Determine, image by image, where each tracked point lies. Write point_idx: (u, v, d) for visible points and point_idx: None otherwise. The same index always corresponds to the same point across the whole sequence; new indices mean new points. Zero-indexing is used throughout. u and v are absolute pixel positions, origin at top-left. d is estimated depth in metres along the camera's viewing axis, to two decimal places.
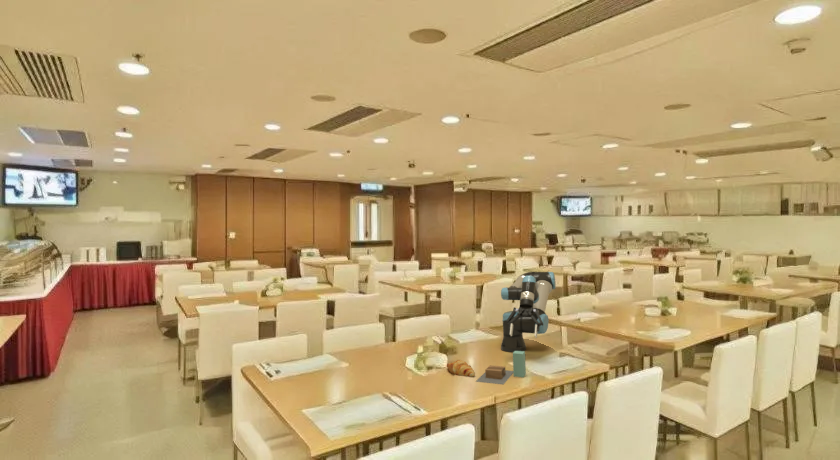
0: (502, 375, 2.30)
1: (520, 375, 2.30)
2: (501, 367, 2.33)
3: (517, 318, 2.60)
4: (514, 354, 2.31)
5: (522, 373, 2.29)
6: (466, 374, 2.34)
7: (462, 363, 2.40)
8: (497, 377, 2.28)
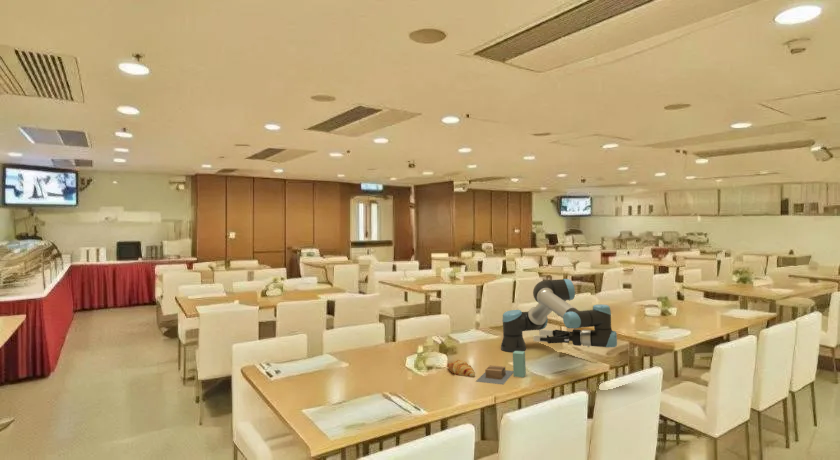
0: (502, 375, 2.30)
1: (520, 375, 2.30)
2: (501, 367, 2.33)
3: None
4: (514, 354, 2.31)
5: (522, 373, 2.29)
6: (466, 374, 2.34)
7: (462, 363, 2.40)
8: (497, 377, 2.28)
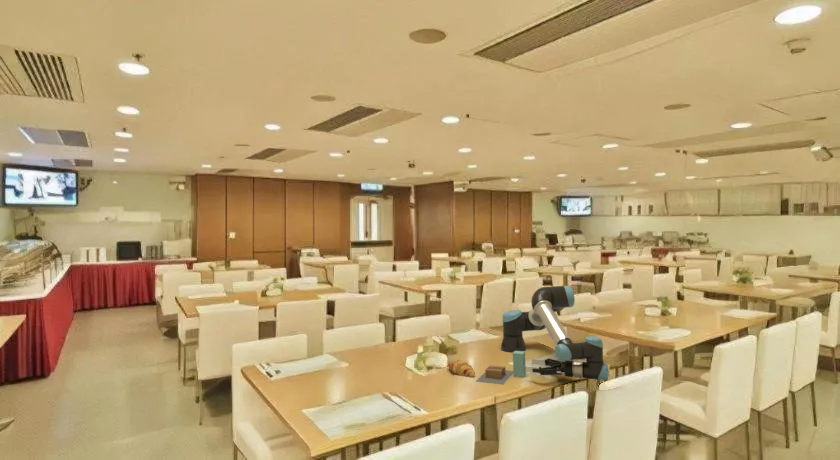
0: (502, 375, 2.30)
1: (520, 375, 2.30)
2: (501, 367, 2.33)
3: (548, 369, 2.21)
4: (514, 354, 2.31)
5: (522, 373, 2.29)
6: (466, 374, 2.34)
7: (463, 363, 2.40)
8: (497, 377, 2.28)
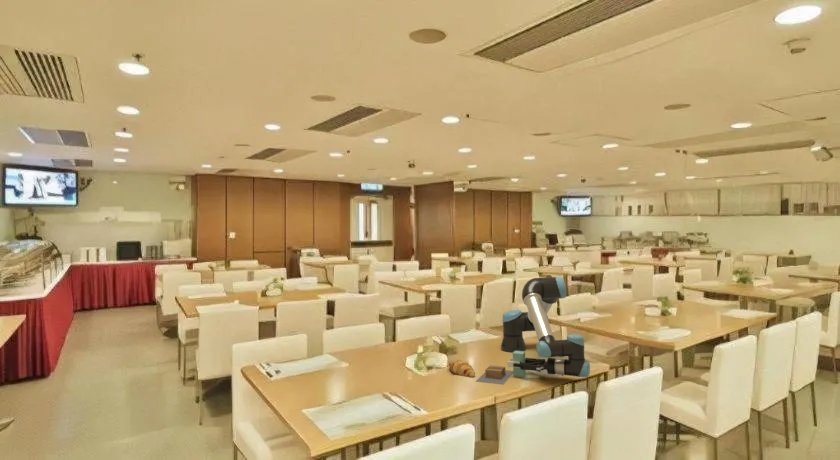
0: (502, 375, 2.30)
1: (520, 375, 2.30)
2: (501, 367, 2.33)
3: (530, 364, 2.28)
4: (514, 354, 2.31)
5: (522, 373, 2.29)
6: (466, 374, 2.34)
7: (463, 363, 2.40)
8: (497, 377, 2.28)
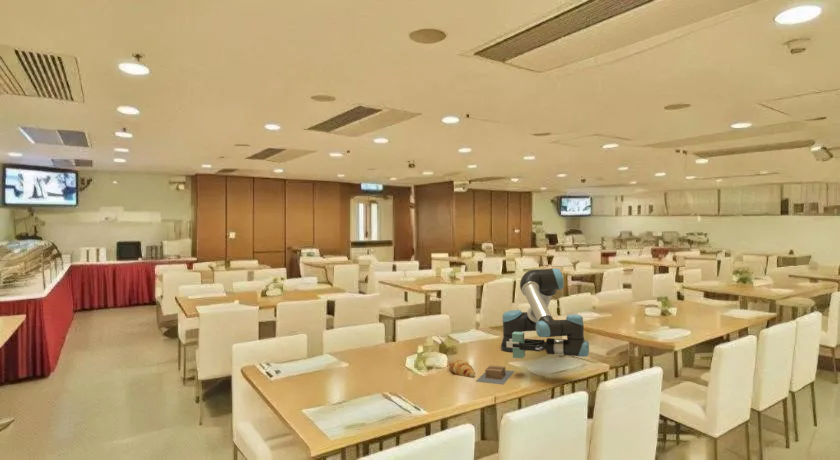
0: (502, 375, 2.30)
1: (519, 355, 2.30)
2: (501, 367, 2.33)
3: (529, 345, 2.28)
4: (513, 335, 2.31)
5: (521, 353, 2.29)
6: (466, 374, 2.34)
7: (463, 363, 2.40)
8: (497, 377, 2.28)
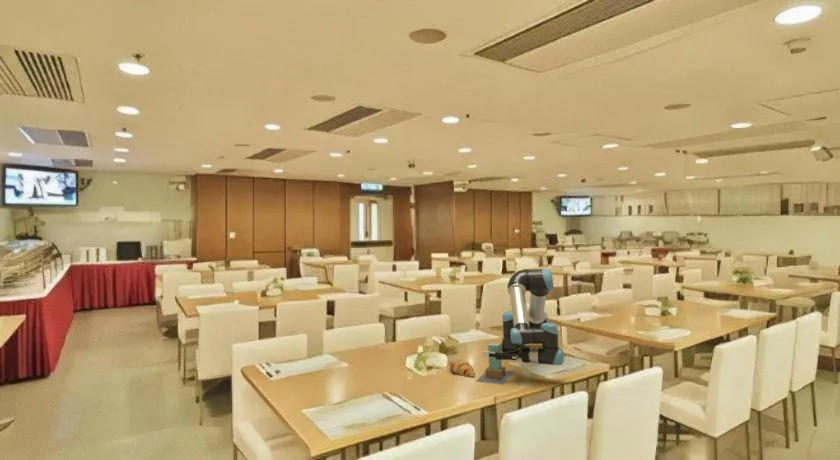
0: (502, 375, 2.30)
1: (495, 367, 2.30)
2: None
3: None
4: (490, 346, 2.31)
5: (497, 365, 2.30)
6: (466, 374, 2.34)
7: (463, 363, 2.40)
8: (497, 377, 2.28)
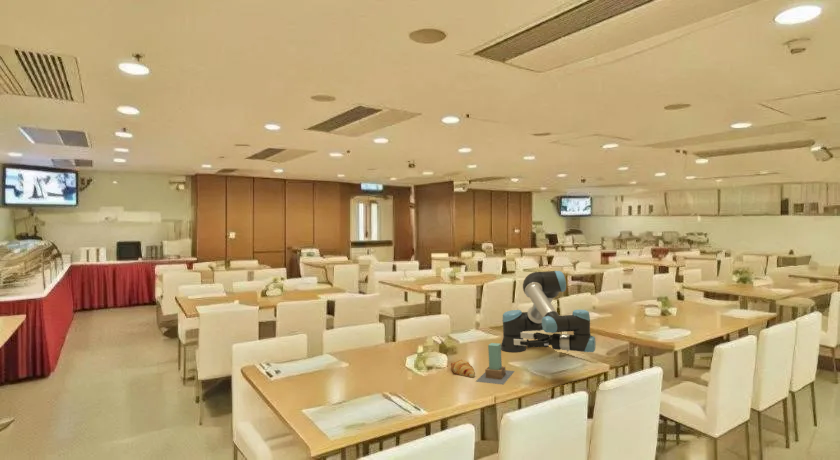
0: (502, 375, 2.30)
1: (495, 367, 2.30)
2: None
3: (536, 341, 2.23)
4: (490, 346, 2.31)
5: (497, 365, 2.30)
6: (466, 374, 2.34)
7: (464, 363, 2.40)
8: (497, 377, 2.28)
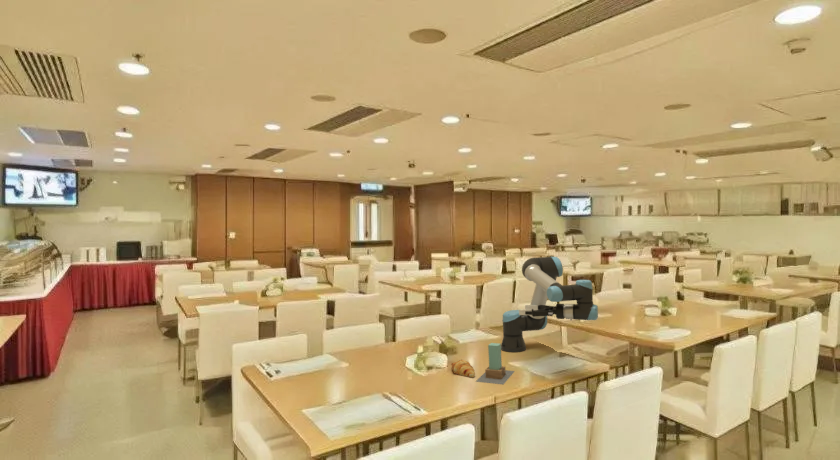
0: (502, 375, 2.30)
1: (495, 367, 2.30)
2: None
3: None
4: (490, 346, 2.31)
5: (497, 365, 2.30)
6: (466, 374, 2.34)
7: (464, 363, 2.40)
8: (497, 377, 2.28)
